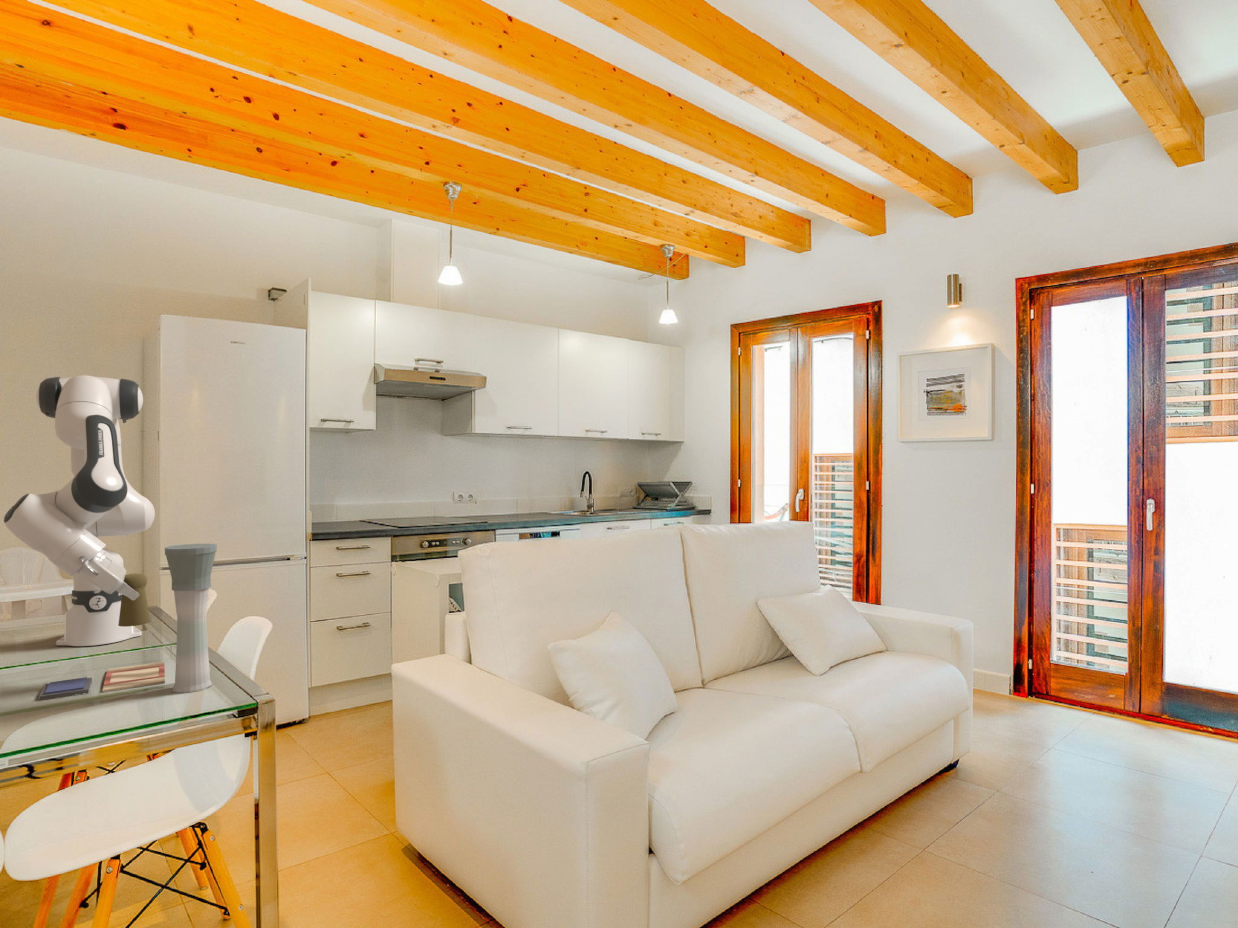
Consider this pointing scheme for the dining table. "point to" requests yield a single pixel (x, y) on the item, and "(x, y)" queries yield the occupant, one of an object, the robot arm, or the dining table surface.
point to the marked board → (134, 676)
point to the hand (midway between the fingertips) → (137, 595)
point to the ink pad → (65, 688)
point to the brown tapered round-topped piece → (134, 603)
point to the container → (191, 613)
